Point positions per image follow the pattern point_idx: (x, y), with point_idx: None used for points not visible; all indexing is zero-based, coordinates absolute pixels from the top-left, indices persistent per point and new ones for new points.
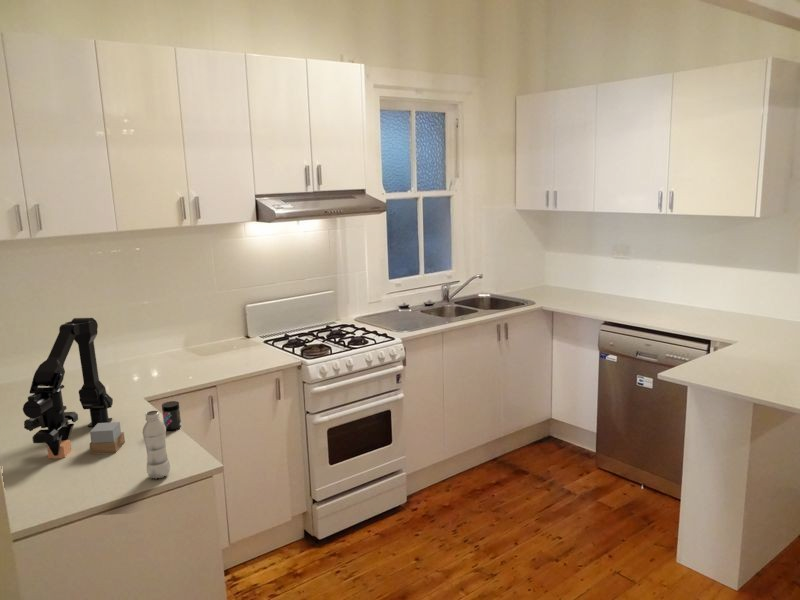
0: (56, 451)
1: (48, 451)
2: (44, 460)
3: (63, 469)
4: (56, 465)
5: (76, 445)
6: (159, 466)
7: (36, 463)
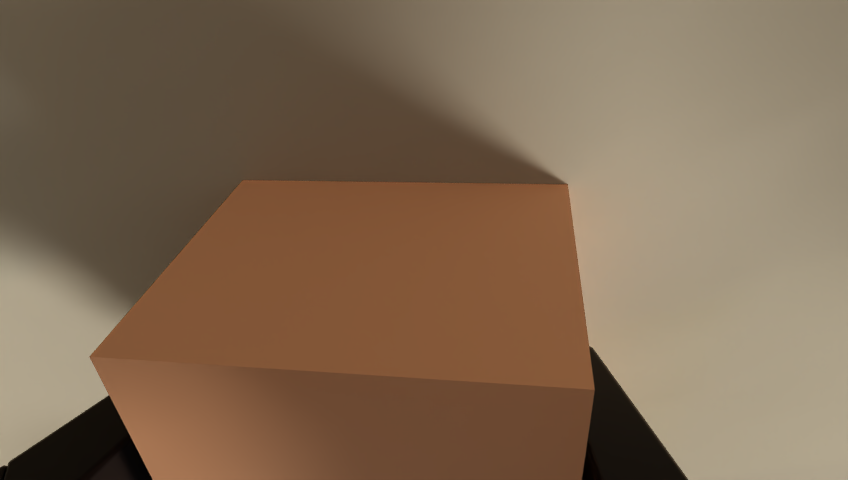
0: None
1: (167, 289)
2: (161, 131)
3: (6, 458)
4: (61, 370)
5: (783, 428)
6: None
7: (7, 27)
